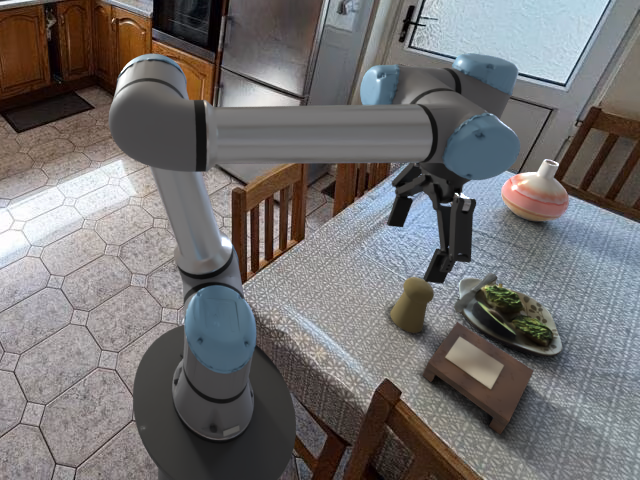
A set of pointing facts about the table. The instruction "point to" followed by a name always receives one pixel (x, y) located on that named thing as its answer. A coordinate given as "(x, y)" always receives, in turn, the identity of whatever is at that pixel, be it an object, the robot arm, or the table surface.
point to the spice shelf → (480, 373)
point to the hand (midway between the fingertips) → (412, 251)
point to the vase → (536, 194)
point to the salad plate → (508, 316)
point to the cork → (412, 305)
